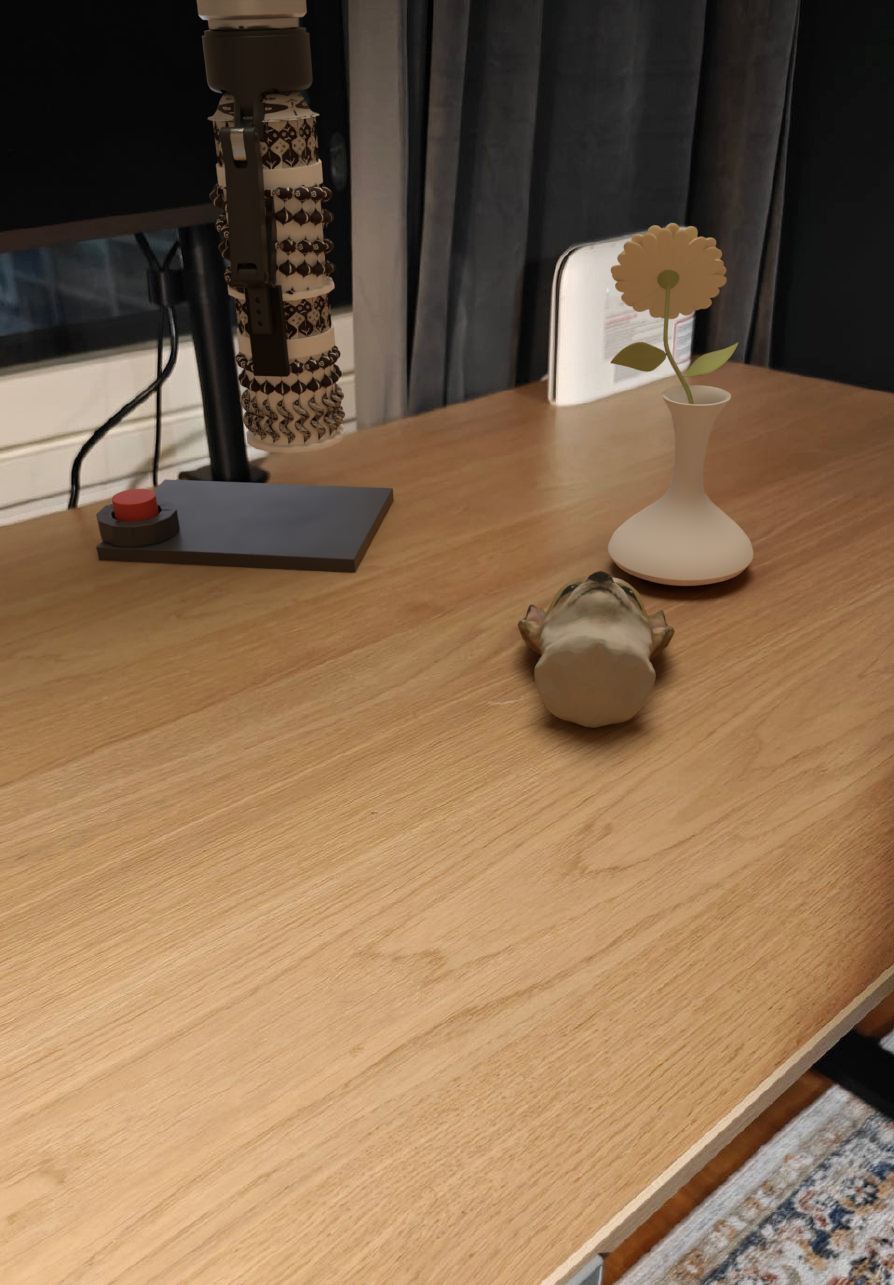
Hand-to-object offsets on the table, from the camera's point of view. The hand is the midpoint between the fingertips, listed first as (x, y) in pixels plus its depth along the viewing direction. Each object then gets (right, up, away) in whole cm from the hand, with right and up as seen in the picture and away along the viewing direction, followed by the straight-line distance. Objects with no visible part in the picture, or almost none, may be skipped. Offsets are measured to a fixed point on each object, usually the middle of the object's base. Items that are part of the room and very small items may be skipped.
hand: (287, 359), depth 92 cm
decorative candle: (0, -5, +4) cm, 7 cm away
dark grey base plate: (-4, -12, +7) cm, 15 cm away
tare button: (-13, -12, +3) cm, 18 cm away
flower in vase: (+31, -17, -1) cm, 36 cm away
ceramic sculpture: (+23, -29, -16) cm, 40 cm away
